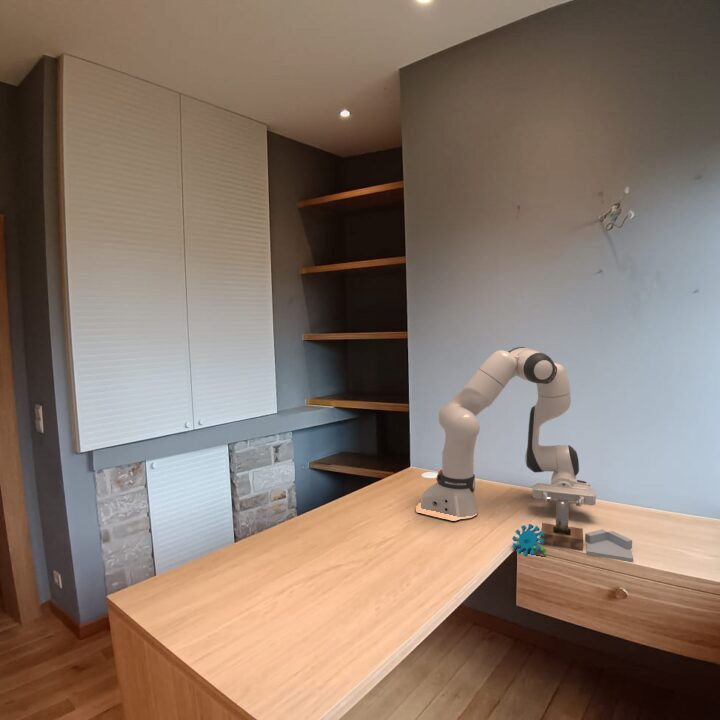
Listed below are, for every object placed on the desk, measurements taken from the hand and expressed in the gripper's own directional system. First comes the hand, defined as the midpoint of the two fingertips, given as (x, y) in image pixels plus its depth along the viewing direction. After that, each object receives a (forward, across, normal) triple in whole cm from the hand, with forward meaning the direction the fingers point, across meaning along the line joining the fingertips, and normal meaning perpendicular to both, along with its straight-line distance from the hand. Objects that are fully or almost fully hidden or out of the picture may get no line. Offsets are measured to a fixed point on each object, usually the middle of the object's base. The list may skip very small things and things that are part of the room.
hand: (563, 502), depth 161 cm
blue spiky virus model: (+23, -9, +8) cm, 26 cm away
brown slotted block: (+12, 0, +8) cm, 15 cm away
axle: (+12, 0, +8) cm, 15 cm away
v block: (+12, +13, +8) cm, 20 cm away
